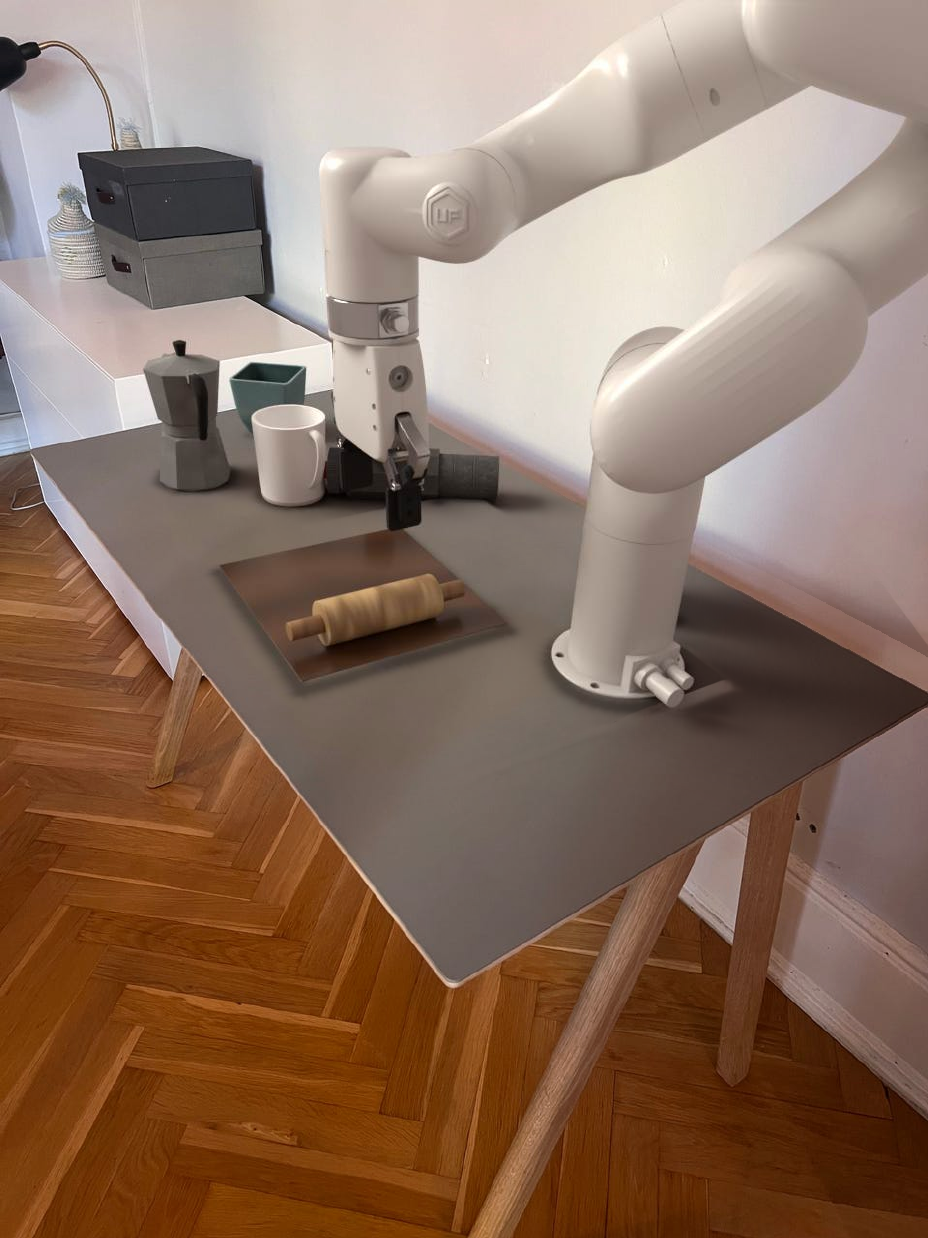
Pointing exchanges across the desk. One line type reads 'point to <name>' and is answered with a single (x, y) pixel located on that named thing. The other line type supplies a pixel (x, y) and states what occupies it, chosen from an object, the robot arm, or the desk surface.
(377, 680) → the desk surface
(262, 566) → the pastry board
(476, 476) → the laser sight
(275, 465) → the mug
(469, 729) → the desk surface
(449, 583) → the rolling pin
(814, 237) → the robot arm
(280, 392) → the flower pot
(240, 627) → the desk surface
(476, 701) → the desk surface
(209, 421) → the coffeepot
